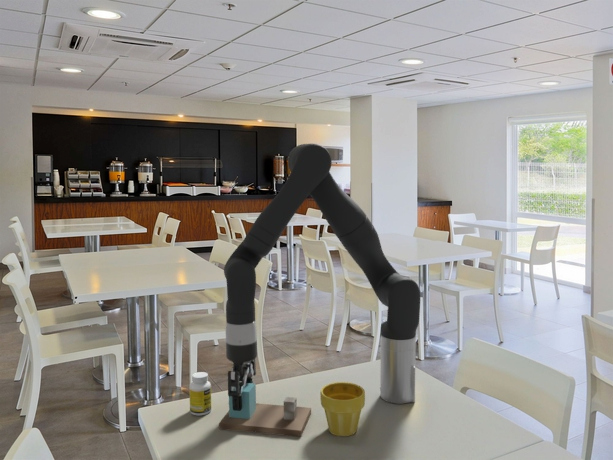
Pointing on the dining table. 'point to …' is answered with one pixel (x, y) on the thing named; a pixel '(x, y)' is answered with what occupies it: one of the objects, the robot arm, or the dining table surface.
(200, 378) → the supplement bottle
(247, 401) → the teal rectangular block
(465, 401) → the dining table surface
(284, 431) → the post board
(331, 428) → the plant pot
